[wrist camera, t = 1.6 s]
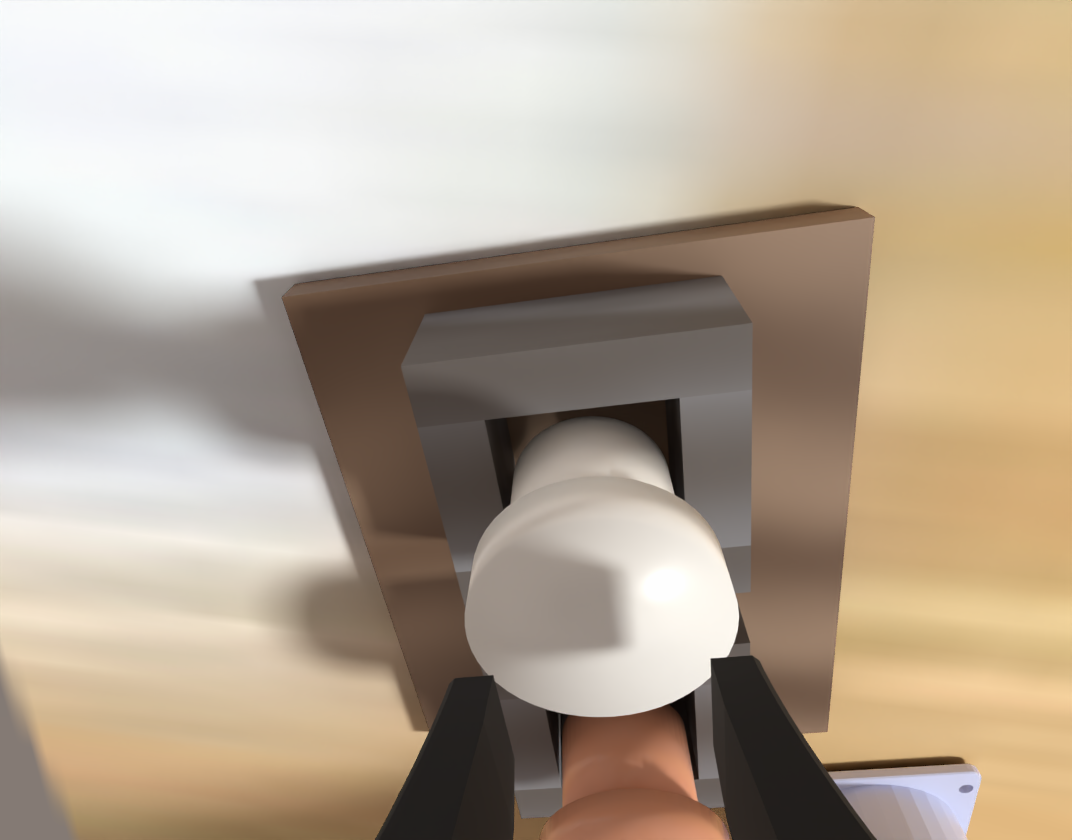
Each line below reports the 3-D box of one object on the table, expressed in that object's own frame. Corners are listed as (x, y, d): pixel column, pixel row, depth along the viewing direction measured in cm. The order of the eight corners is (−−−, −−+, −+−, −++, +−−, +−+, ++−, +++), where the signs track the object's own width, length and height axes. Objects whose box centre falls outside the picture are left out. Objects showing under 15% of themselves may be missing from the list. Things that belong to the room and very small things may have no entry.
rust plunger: (707, 778, 21) (740, 943, 18) (553, 788, 22) (552, 949, 18) (703, 671, 19) (739, 834, 15) (530, 684, 19) (523, 845, 16)
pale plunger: (698, 554, 17) (739, 707, 13) (505, 571, 17) (490, 724, 14) (691, 379, 15) (738, 504, 11) (469, 405, 15) (438, 534, 11)
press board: (818, 707, 25) (859, 816, 22) (442, 733, 27) (425, 839, 23) (858, 207, 16) (937, 255, 13) (294, 283, 18) (230, 346, 14)
